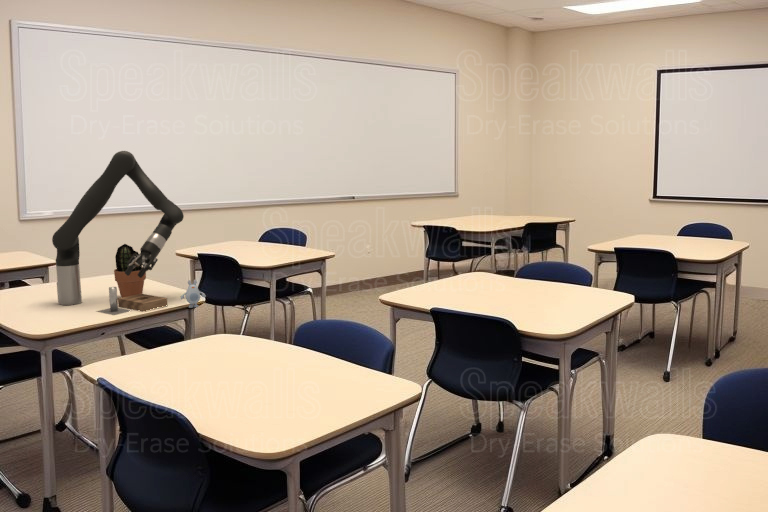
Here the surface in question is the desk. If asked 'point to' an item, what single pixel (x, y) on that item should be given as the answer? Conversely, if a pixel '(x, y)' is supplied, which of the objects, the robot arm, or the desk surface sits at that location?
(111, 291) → the metal peg
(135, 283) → the potted plant
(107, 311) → the rubber mat
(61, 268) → the robot arm
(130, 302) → the hole block
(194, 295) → the toy figure
